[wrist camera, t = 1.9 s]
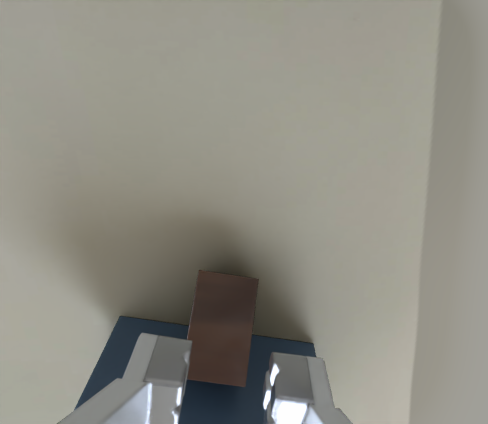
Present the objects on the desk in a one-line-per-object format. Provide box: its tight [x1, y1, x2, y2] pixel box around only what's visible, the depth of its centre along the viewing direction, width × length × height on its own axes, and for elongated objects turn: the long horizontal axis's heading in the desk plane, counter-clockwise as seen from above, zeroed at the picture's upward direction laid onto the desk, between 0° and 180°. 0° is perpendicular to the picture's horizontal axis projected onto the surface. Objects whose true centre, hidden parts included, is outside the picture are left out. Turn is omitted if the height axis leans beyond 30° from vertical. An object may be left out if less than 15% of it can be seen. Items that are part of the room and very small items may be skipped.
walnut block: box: [187, 270, 258, 387], centre depth 25 cm, size 7×4×7 cm, turn 171°
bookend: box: [74, 316, 316, 424], centre depth 27 cm, size 8×16×10 cm, turn 81°
